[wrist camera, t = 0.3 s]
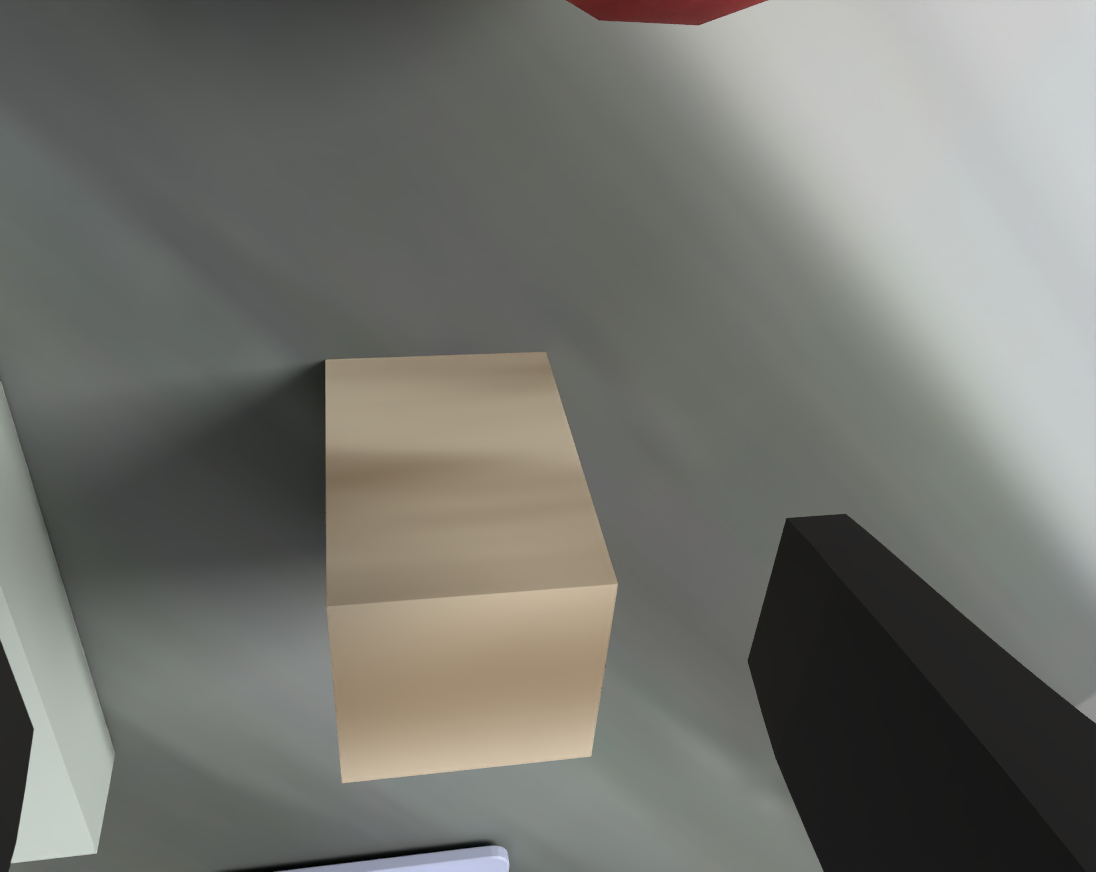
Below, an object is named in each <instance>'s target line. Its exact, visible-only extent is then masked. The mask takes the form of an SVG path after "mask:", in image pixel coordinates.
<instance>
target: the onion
mask: <svg viewBox="0 0 1096 872" xmlns="http://www.w3.org/2000/svg"><path fill="white" fill-rule="evenodd" d="M567 1H568V2H570V3H572V4H573V5H575V6H577V7H578V8H580V9H581V10H583V11H585V12H586V13H588V14H590V15H591V16H593V17H595V18H596V19H598V20H604V21H624V22H644V23H664V24H684V25H701V24H703V23H706V22H709V21H712V20H715V19H717V18H720V17H723V16H726V15H728V14H731V13H734V12H737V11H739V10H742V9H745V8H748V7H750V6H753V5H756V4H759V3H762V2H764V1H767V0H567Z"/></svg>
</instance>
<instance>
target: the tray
mask: <svg viewBox="0 0 1096 872" xmlns="http://www.w3.org/2000/svg"><path fill="white" fill-rule="evenodd" d="M0 640H1V642H2V645H3V648H4V650H5V653H6V656H7V658H8V661H9V664H10V666H11V669H12V672H13V674H14V677H15V680H16V682H17V685H18V688H19V690H20V693H21V696H22V698H23V701H24V704H25V706H26V709H27V712H28V714H29V717H30V720H31V722H32V725H33V728H34V732H33V739H32V746H31V753H30V760H29V767H28V774H27V781H26V788H25V794H24V800H23V806H22V812H21V818H20V824H19V829H18V835H17V841H16V846H15V849H14V853H13V857H12V860H11V863H17V862H26V861H34V860H43V859H52V858H61V857H69V856H78V855H87V854H96V853H97V850H98V844H99V839H100V833H101V828H102V822H103V817H104V812H105V806H106V801H107V795H108V790H109V785H110V779H111V774H112V768H113V763H114V757H115V751H114V748H113V745H112V742H111V738H110V735H109V732H108V728H107V725H106V722H105V719H104V715H103V712H102V709H101V706H100V702H99V699H98V696H97V693H96V689H95V686H94V683H93V680H92V676H91V673H90V670H89V666H88V663H87V660H86V657H85V653H84V650H83V647H82V644H81V640H80V637H79V634H78V631H77V627H76V624H75V621H74V618H73V614H72V611H71V608H70V605H69V601H68V598H67V595H66V591H65V588H64V585H63V582H62V578H61V575H60V572H59V569H58V565H57V562H56V559H55V556H54V552H53V549H52V546H51V543H50V539H49V536H48V533H47V530H46V526H45V523H44V520H43V516H42V513H41V510H40V507H39V503H38V500H37V497H36V494H35V490H34V487H33V484H32V481H31V477H30V474H29V471H28V468H27V464H26V461H25V458H24V454H23V451H22V448H21V445H20V441H19V438H18V435H17V432H16V428H15V425H14V422H13V419H12V415H11V412H10V409H9V406H8V402H7V399H6V396H5V393H4V389H3V386H2V383H1V379H0Z"/></svg>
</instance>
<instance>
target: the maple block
mask: <svg viewBox="0 0 1096 872" xmlns="http://www.w3.org/2000/svg"><path fill="white" fill-rule="evenodd" d="M325 395H326V607H327V618H328V630H329V641H330V652H331V663H332V675H333V686H334V697H335V709H336V720H337V731H338V742H339V754H340V765H341V776H342V783H348V782H357V781H367V780H376V779H385V778H394V777H404V776H413V775H422V774H432V773H441V772H450V771H460V770H469V769H478V768H488V767H497V766H506V765H515V764H525V763H534V762H543V761H553V760H562V759H571V758H581V757H590V756H591V753H592V746H593V740H594V733H595V727H596V721H597V714H598V708H599V701H600V695H601V689H602V682H603V676H604V669H605V663H606V657H607V650H608V644H609V637H610V631H611V625H612V618H613V612H614V605H615V599H616V593H617V586H618V583H617V580H616V577H615V573H614V570H613V567H612V564H611V560H610V557H609V554H608V551H607V547H606V544H605V541H604V538H603V535H602V531H601V528H600V525H599V522H598V518H597V515H596V512H595V509H594V506H593V502H592V499H591V496H590V493H589V489H588V486H587V483H586V480H585V477H584V473H583V470H582V467H581V464H580V460H579V457H578V454H577V451H576V448H575V444H574V441H573V438H572V435H571V431H570V428H569V425H568V422H567V419H566V415H565V412H564V409H563V406H562V402H561V399H560V396H559V393H558V390H557V386H556V383H555V380H554V377H553V373H552V370H551V367H550V364H549V361H548V357H547V354H546V352H528V353H500V354H472V355H444V356H416V357H388V358H360V359H332V360H325Z"/></svg>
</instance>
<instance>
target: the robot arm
mask: <svg viewBox="0 0 1096 872" xmlns="http://www.w3.org/2000/svg"><path fill="white" fill-rule="evenodd" d="M748 664H749V668H750V671H751V675H752V679H753V682H754V686H755V689H756V693H757V697H758V700H759V704H760V708H761V711H762V715H763V718H764V722H765V725H766V728H767V731H768V735H769V738H770V741H771V745H772V748H773V751H774V754H775V758H776V760H777V763H778V765H779V767H780V770H781V772H782V775H783V777H784V780H785V782H786V784H787V787H788V789H789V791H790V794H791V796H792V799H793V801H794V803H795V806H796V808H797V810H798V813H799V815H800V817H801V820H802V822H803V825H804V827H805V829H806V832H807V834H808V836H809V839H810V841H811V843H812V846H813V848H814V850H815V853H816V855H817V857H818V859H819V862H820V864H821V866H822V869H823V871H824V872H1096V723H1094V722H1093V721H1092V720H1090V719H1089V718H1088V717H1086V716H1085V715H1084V714H1083V713H1081V712H1080V711H1079V710H1078V709H1076V708H1075V707H1074V706H1073V705H1071V704H1070V703H1069V702H1068V701H1066V700H1065V699H1064V698H1063V697H1061V696H1060V695H1059V694H1058V693H1056V692H1055V691H1054V690H1053V689H1051V688H1050V687H1049V686H1047V685H1046V684H1045V683H1044V682H1043V681H1041V680H1040V679H1039V678H1038V677H1036V676H1035V675H1034V674H1033V673H1032V672H1030V671H1029V670H1028V669H1027V668H1026V667H1024V666H1023V665H1022V664H1021V663H1019V662H1018V661H1017V660H1016V659H1015V658H1014V657H1012V656H1011V655H1010V654H1009V653H1008V652H1006V651H1005V650H1004V649H1003V648H1002V647H1000V646H999V645H998V644H997V643H996V642H994V641H993V640H992V639H991V638H990V637H989V636H987V635H986V634H985V633H984V632H983V631H981V630H980V629H979V628H978V627H977V626H976V625H974V624H973V623H972V622H971V621H970V620H969V619H967V618H966V617H965V616H964V615H963V614H962V613H960V612H959V611H958V610H957V609H956V608H955V607H954V606H952V605H951V604H950V603H949V602H948V601H947V600H946V599H944V598H943V597H942V596H941V595H940V594H939V593H937V592H936V591H935V590H934V589H933V588H932V587H931V586H929V585H928V584H927V583H926V582H925V581H924V580H923V579H921V578H920V577H919V576H918V575H917V574H916V573H915V572H913V571H912V570H911V569H910V568H909V567H908V566H906V565H905V564H904V563H903V562H902V561H901V560H900V559H898V558H897V557H896V556H895V555H894V554H893V553H892V552H890V551H889V550H888V549H887V548H886V547H885V546H883V545H882V544H881V543H880V542H879V541H878V540H877V539H875V538H874V537H873V536H872V535H871V534H869V533H868V532H867V531H866V530H865V529H864V528H862V527H861V526H860V525H859V524H857V523H856V522H855V521H854V520H853V519H851V518H850V517H849V516H848V515H846V514H838V515H824V516H810V517H796V518H786V522H785V525H784V529H783V533H782V536H781V540H780V544H779V547H778V551H777V555H776V558H775V562H774V566H773V570H772V573H771V577H770V581H769V584H768V588H767V592H766V595H765V599H764V603H763V606H762V610H761V614H760V617H759V621H758V625H757V628H756V632H755V636H754V639H753V643H752V647H751V650H750V654H749V658H748ZM33 732H34V728H33V725H32V722H31V720H30V717H29V714H28V712H27V709H26V706H25V704H24V701H23V698H22V696H21V693H20V690H19V688H18V685H17V682H16V680H15V677H14V674H13V672H12V669H11V666H10V664H9V661H8V658H7V656H6V653H5V650H4V648H3V645H2V642H1V640H0V872H8V871H9V868H10V864H11V860H12V857H13V853H14V849H15V846H16V841H17V835H18V829H19V824H20V818H21V812H22V806H23V800H24V794H25V788H26V781H27V774H28V767H29V760H30V753H31V746H32V739H33ZM275 872H509V859H508V853H507V850H506V849H504V848H503V847H501V846H497V845H490V846H482V847H473V848H465V849H457V850H449V851H440V852H432V853H424V854H416V855H407V856H399V857H391V858H382V859H374V860H366V861H358V862H349V863H341V864H333V865H324V866H316V867H308V868H300V869H291V870H283V871H275Z"/></svg>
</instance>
